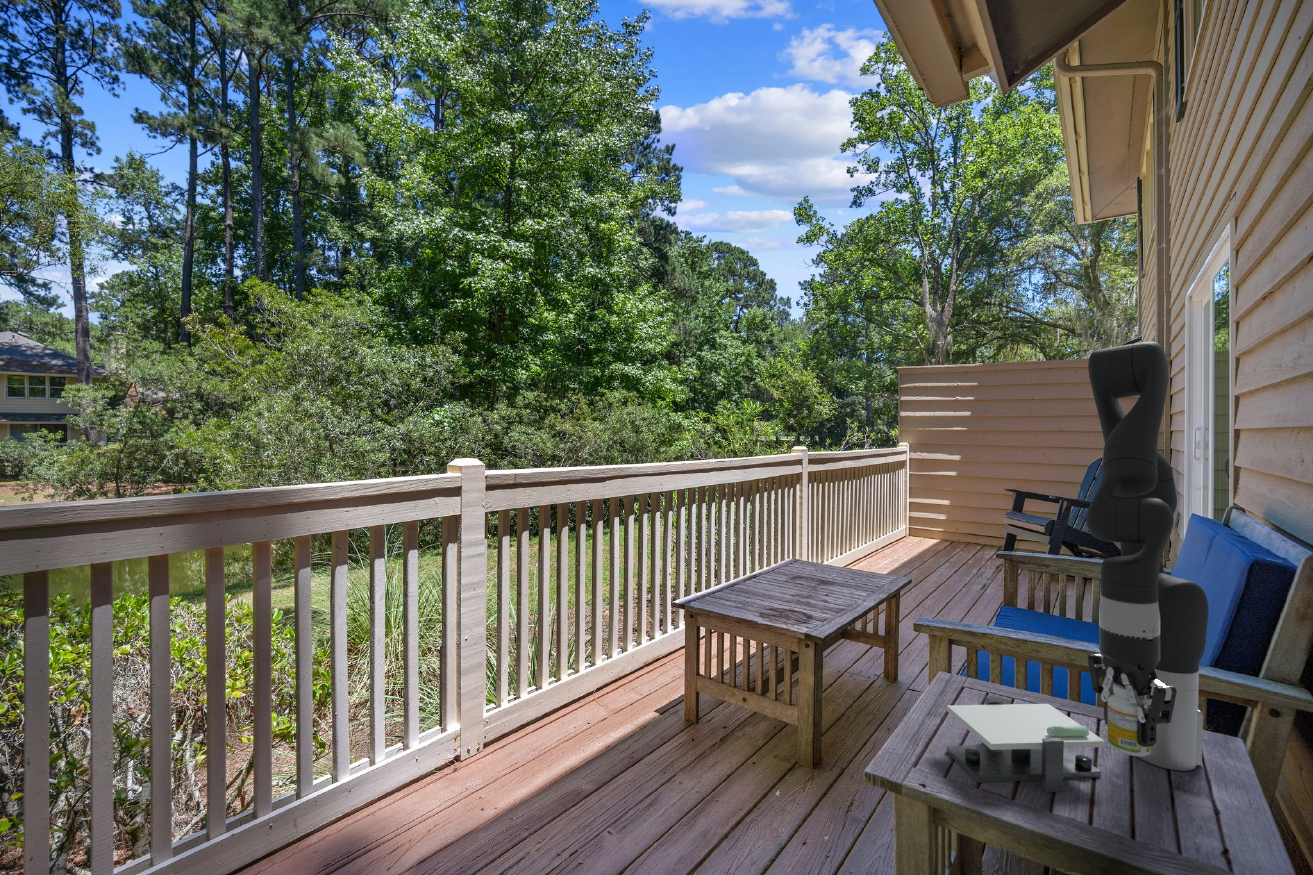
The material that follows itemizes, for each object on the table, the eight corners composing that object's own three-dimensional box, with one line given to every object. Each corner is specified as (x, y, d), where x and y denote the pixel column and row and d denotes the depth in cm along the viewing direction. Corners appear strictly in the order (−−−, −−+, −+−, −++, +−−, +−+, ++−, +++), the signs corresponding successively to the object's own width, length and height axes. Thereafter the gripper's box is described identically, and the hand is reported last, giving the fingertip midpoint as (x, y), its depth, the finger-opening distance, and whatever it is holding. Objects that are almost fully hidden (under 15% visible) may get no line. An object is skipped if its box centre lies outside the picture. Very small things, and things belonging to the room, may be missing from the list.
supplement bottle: (1131, 738, 101) (1131, 677, 100) (1160, 756, 95) (1160, 692, 95) (1099, 740, 100) (1098, 679, 100) (1126, 758, 95) (1126, 694, 95)
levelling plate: (1047, 708, 121) (1048, 694, 121) (1105, 746, 107) (1105, 731, 107) (946, 710, 119) (947, 696, 119) (991, 749, 105) (991, 733, 105)
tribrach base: (1046, 737, 122) (1047, 693, 122) (1117, 788, 105) (1118, 738, 105) (936, 741, 121) (937, 697, 121) (990, 794, 104) (991, 743, 104)
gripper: (1070, 613, 104) (1071, 715, 105) (1147, 645, 90) (1147, 762, 90) (1113, 611, 105) (1113, 712, 105) (1195, 641, 90) (1195, 758, 91)
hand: (1129, 734), depth 98 cm, fingers closed on supplement bottle, 5 cm apart
